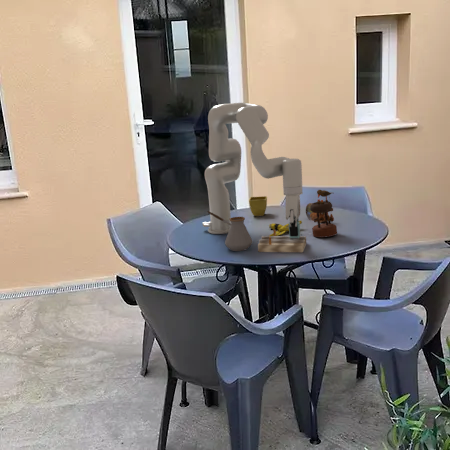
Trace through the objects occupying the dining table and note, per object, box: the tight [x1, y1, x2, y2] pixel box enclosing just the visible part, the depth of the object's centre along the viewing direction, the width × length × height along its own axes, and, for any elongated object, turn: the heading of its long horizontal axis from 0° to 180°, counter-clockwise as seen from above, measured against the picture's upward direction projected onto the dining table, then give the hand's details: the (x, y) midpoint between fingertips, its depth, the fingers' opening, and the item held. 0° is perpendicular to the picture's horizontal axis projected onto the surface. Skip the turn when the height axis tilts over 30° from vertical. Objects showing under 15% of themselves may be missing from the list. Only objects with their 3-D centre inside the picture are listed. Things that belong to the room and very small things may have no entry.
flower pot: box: [248, 195, 268, 217], centre depth 272 cm, size 9×9×9 cm
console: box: [257, 229, 307, 253], centre depth 216 cm, size 18×12×6 cm, turn 75°
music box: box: [310, 189, 338, 238], centre depth 227 cm, size 15×11×20 cm
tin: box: [305, 202, 329, 224], centre depth 253 cm, size 15×3×8 cm, turn 27°
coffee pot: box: [206, 210, 253, 252], centre depth 221 cm, size 21×12×15 cm, turn 55°
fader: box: [288, 221, 301, 240], centre depth 214 cm, size 4×3×7 cm
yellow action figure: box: [268, 220, 303, 236], centre depth 240 cm, size 19×4×15 cm
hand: (294, 234), depth 214 cm, fingers closed on fader, 3 cm apart
